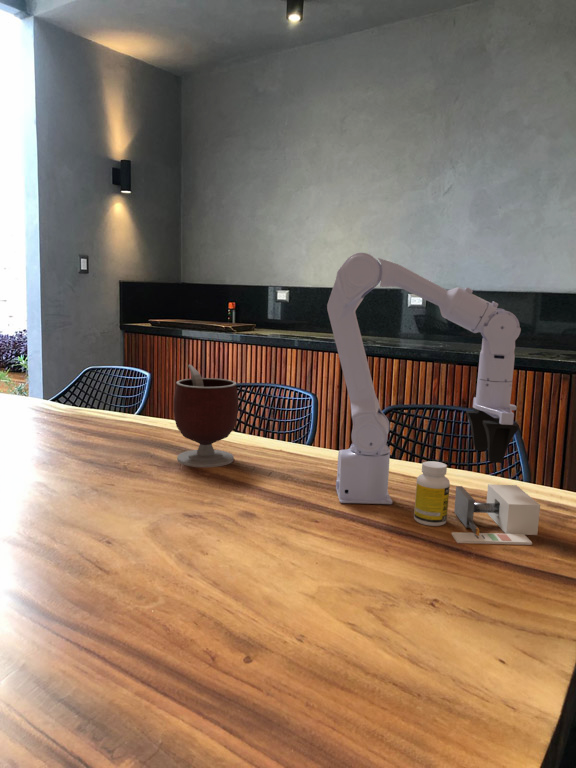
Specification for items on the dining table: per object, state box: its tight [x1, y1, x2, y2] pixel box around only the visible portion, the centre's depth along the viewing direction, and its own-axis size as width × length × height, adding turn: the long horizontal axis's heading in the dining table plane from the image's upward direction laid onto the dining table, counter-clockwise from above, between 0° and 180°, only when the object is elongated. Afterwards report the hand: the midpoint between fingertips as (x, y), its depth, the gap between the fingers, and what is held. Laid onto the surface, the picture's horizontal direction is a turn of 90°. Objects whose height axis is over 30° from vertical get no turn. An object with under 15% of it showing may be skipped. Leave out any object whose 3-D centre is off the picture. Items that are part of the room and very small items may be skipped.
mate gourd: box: [173, 364, 239, 468], centre depth 135 cm, size 16×14×20 cm
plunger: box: [453, 485, 500, 536], centre depth 101 cm, size 8×11×5 cm
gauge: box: [451, 484, 541, 546], centre depth 101 cm, size 14×14×5 cm
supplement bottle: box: [413, 460, 451, 527], centre depth 103 cm, size 5×5×10 cm
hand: (487, 456), depth 109 cm, fingers open, 7 cm apart
